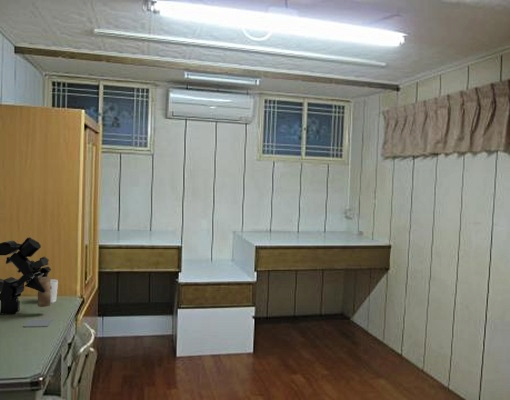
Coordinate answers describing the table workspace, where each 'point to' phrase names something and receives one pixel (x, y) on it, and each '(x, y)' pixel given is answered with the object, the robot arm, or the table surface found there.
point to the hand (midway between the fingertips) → (47, 290)
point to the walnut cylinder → (46, 296)
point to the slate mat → (38, 323)
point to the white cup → (54, 290)
